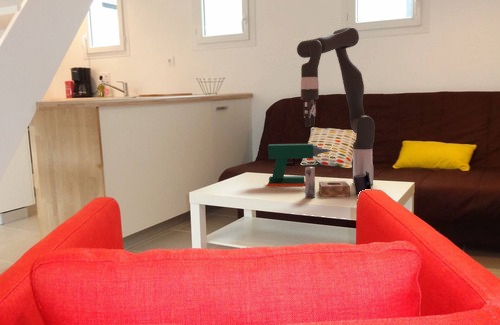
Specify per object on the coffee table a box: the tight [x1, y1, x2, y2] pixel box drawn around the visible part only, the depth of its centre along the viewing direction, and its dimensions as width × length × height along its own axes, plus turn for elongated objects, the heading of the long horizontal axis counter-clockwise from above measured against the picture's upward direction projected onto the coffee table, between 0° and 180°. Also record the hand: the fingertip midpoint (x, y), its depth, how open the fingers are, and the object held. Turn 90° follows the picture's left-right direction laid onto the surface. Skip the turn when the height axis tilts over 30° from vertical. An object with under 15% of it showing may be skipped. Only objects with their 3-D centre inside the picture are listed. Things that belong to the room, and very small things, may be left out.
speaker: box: [352, 171, 372, 196], centre depth 202 cm, size 8×6×10 cm
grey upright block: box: [304, 166, 316, 199], centre depth 198 cm, size 7×4×13 cm, turn 162°
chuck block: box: [318, 180, 351, 198], centre depth 205 cm, size 12×12×4 cm
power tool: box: [267, 143, 333, 187], centre depth 228 cm, size 32×7×20 cm, turn 84°
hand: (309, 126), depth 200 cm, fingers open, 8 cm apart
